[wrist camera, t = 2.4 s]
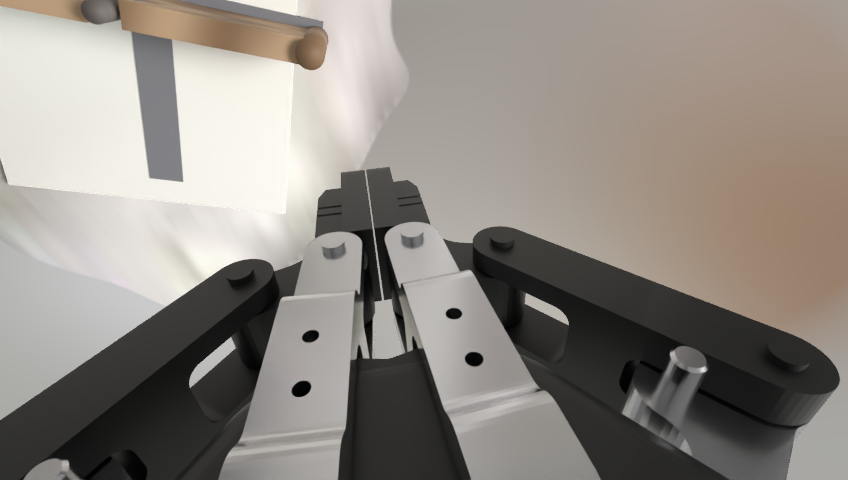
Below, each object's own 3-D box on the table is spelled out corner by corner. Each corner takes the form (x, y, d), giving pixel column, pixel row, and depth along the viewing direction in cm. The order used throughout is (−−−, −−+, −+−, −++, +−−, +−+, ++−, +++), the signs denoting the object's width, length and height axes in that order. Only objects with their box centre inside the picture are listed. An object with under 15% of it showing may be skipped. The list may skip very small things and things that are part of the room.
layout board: (13, 181, 35) (7, 184, 35) (-106, -211, 23) (-118, -215, 23) (306, 213, 41) (306, 217, 41) (332, -85, 29) (332, -86, 29)
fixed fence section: (141, 15, 30) (83, 27, 23) (137, -14, 29) (77, -9, 23) (326, 53, 33) (322, 73, 27) (329, 28, 32) (325, 43, 26)
